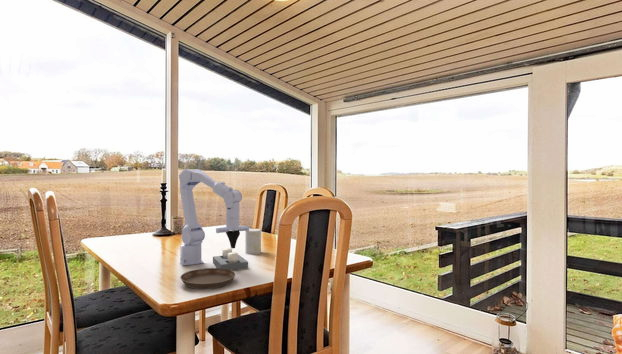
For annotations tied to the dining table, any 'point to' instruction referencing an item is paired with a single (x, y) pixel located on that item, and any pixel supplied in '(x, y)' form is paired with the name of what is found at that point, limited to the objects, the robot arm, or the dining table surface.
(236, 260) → the near knob
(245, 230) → the robot arm
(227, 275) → the plant saucer
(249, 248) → the cup
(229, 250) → the far knob
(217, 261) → the slate mount
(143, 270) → the dining table surface
